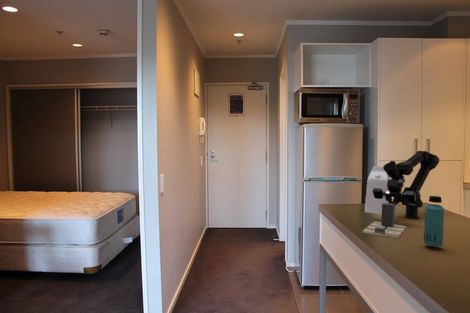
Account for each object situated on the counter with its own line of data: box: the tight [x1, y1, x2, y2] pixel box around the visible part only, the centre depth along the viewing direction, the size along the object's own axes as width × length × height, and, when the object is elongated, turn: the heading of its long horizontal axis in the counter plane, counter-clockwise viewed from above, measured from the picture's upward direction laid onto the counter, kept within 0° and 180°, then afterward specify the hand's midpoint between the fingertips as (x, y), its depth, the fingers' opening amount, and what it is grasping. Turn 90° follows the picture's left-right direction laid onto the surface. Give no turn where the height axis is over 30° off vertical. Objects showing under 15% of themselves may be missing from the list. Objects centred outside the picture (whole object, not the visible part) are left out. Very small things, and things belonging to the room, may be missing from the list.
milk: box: [364, 165, 391, 215], centre depth 185 cm, size 12×12×26 cm
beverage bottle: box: [423, 195, 445, 248], centre depth 123 cm, size 6×7×20 cm
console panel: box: [362, 221, 407, 240], centre depth 147 cm, size 20×14×3 cm
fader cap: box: [380, 203, 396, 227], centre depth 150 cm, size 4×5×10 cm
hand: (390, 209), depth 155 cm, fingers closed
